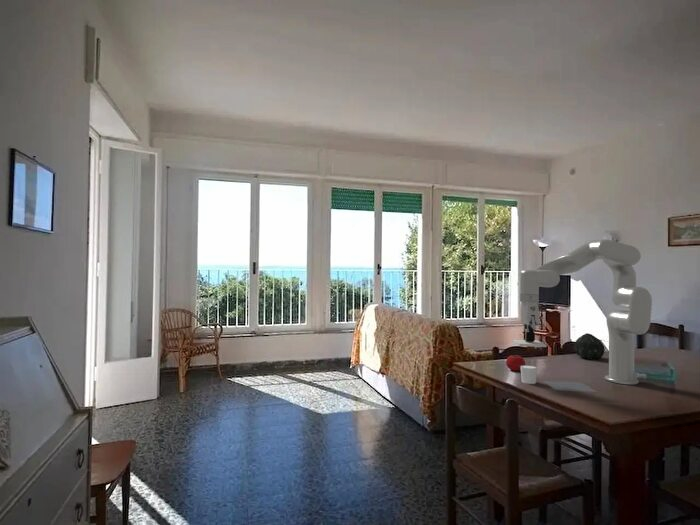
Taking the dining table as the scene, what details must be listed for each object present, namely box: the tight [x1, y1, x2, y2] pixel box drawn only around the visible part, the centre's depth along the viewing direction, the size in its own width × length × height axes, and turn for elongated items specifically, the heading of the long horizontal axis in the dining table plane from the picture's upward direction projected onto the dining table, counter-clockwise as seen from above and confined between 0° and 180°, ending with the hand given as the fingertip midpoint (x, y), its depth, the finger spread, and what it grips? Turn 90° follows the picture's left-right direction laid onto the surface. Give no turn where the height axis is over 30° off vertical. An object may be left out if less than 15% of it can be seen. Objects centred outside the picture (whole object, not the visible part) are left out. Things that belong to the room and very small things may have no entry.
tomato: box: [505, 353, 526, 372], centre depth 202 cm, size 9×9×8 cm
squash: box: [573, 332, 606, 360], centre depth 234 cm, size 14×15×15 cm
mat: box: [543, 380, 598, 393], centre depth 174 cm, size 16×14×1 cm
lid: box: [511, 329, 548, 348], centre depth 180 cm, size 11×11×6 cm
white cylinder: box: [520, 364, 538, 385], centre depth 180 cm, size 7×7×7 cm
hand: (528, 340), depth 180 cm, fingers closed on lid, 2 cm apart
